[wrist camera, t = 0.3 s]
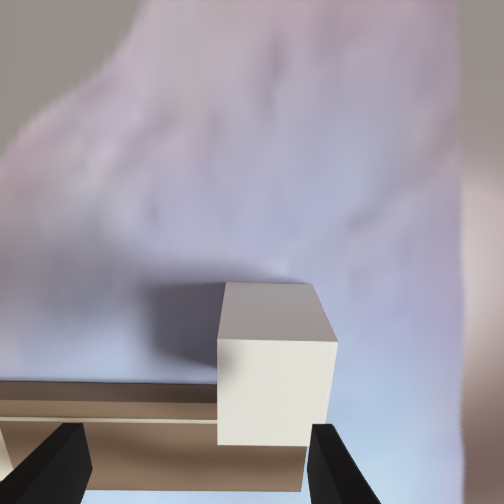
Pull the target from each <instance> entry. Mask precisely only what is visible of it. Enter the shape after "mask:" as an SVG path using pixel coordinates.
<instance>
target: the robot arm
mask: <svg viewBox="0 0 504 504" xmlns="http://www.w3.org/2000/svg"><path fill="white" fill-rule="evenodd" d="M92 470H93V467H92V462H91V458H90V453H89V449H88V444H87V440H86V435H85V431H84V426H83V423H62V424H61V425H60V426H59V427H58V428H57V429H56V430H55V431H54V432H53V433H52V434H50V435H49V436H48V437H47V438H46V439H45V440H44V441H43V442H42V443H41V444H40V445H39V446H38V447H37V448H36V449H35V450H34V451H33V452H32V453H31V454H29V455H28V456H27V457H26V458H25V459H24V460H23V461H22V462H21V463H20V464H19V465H18V466H17V467H16V468H15V469H14V470H13V471H12V472H10V473H9V474H8V475H7V476H6V477H5V478H4V479H3V480H2V481H1V482H0V504H80V503H81V501H82V498H83V495H84V493H85V490H86V487H87V484H88V482H89V479H90V476H91V473H92ZM307 474H308V482H309V490H310V497H311V504H381V503H380V501H379V500H378V498H377V497H376V495H375V494H374V492H373V490H372V489H371V487H370V486H369V484H368V483H367V481H366V480H365V478H364V477H363V475H362V473H361V472H360V470H359V469H358V467H357V465H356V464H355V462H354V460H353V459H352V457H351V455H350V454H349V452H348V450H347V449H346V447H345V445H344V443H343V442H342V440H341V438H340V436H339V434H338V433H337V431H336V429H335V427H334V426H333V425H332V424H312V430H311V438H310V447H309V455H308V463H307Z"/></svg>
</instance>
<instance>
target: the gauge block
mask: <svg viewBox="0 0 504 504" xmlns="http://www.w3.org/2000/svg"><path fill="white" fill-rule="evenodd" d="M337 346H338V340H337V338H336V336H335V334H334V332H333V329H332V327H331V325H330V323H329V321H328V318H327V316H326V314H325V312H324V309H323V307H322V305H321V303H320V301H319V298H318V296H317V294H316V292H315V290H314V287H313V285H312V284H287V283H250V282H226V286H225V292H224V298H223V305H222V311H221V318H220V324H219V331H218V337H217V441H218V445H255V446H310V438H311V430H312V424H325V422H326V415H327V409H328V403H329V397H330V390H331V384H332V378H333V371H334V365H335V359H336V353H337Z"/></svg>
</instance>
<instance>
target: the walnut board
mask: <svg viewBox="0 0 504 504" xmlns="http://www.w3.org/2000/svg"><path fill="white" fill-rule="evenodd" d="M62 423H83V426H84V431H85V435H86V440H87V444H88V449H89V453H90V458H91V462H92V467H93V470H92V473H91V476H90V479H89V482H88V484H87V487H86V490H145V491H262V492H301V486H302V479H303V472H304V464H305V457H306V450H307V446H255V445H218V441H217V385H189V384H132V383H76V382H19V381H0V482H1V481H2V480H3V479H4V478H5V477H6V476H7V475H8V474H9V473H10V472H12V471H13V470H14V469H15V468H16V467H17V466H18V465H19V464H20V463H21V462H22V461H23V460H24V459H25V458H26V457H27V456H28V455H29V454H31V453H32V452H33V451H34V450H35V449H36V448H37V447H38V446H39V445H40V444H41V443H42V442H43V441H44V440H45V439H46V438H47V437H48V436H49V435H50V434H52V433H53V432H54V431H55V430H56V429H57V428H58V427H59V426H60V425H61V424H62Z"/></svg>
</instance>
